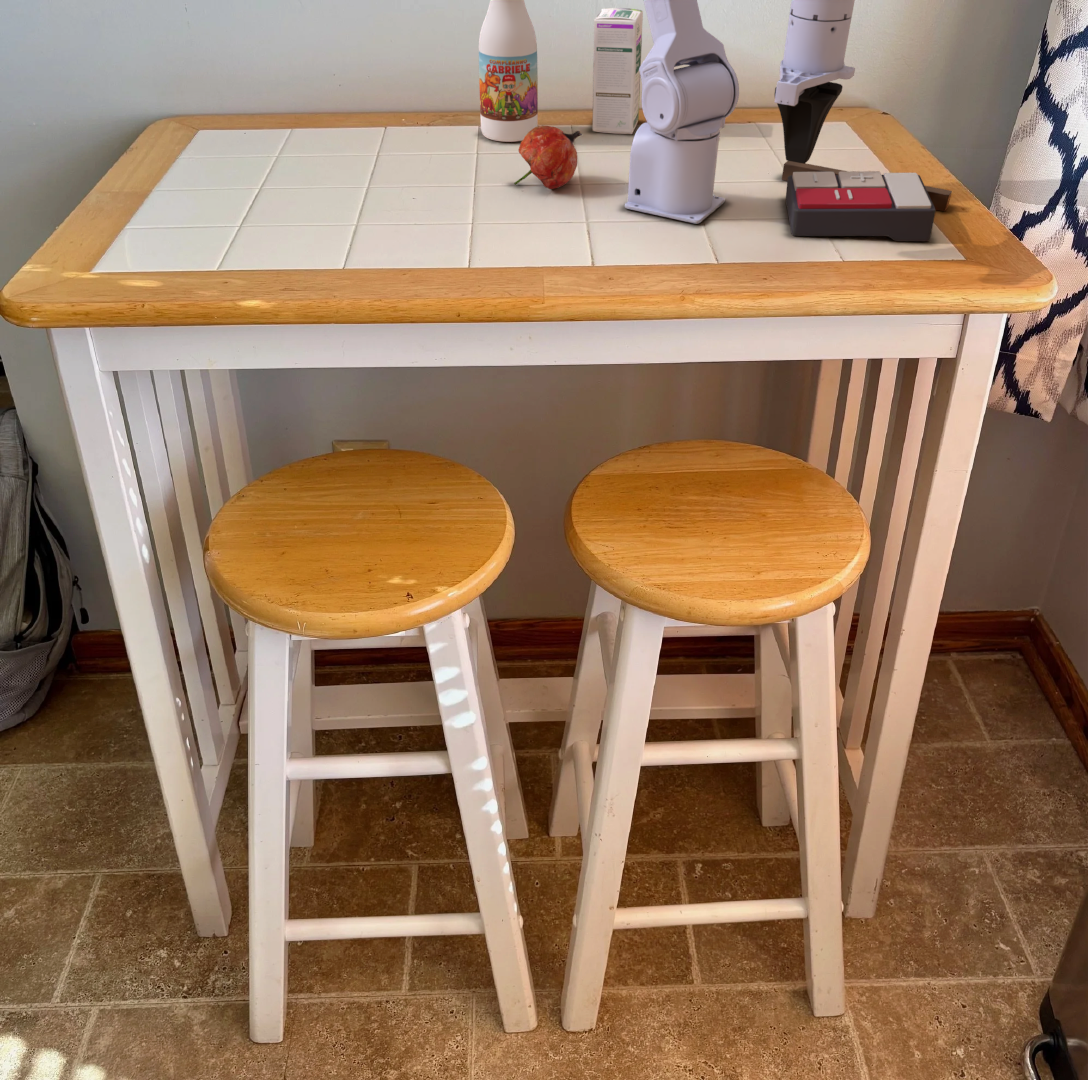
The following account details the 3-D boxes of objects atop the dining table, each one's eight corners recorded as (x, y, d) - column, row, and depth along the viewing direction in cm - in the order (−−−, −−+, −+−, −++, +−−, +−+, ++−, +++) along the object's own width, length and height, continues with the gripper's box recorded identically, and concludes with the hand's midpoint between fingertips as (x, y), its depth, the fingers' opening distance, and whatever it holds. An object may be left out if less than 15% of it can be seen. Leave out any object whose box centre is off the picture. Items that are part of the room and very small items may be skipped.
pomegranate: (525, 215, 126) (592, 168, 121) (488, 163, 123) (556, 113, 119) (537, 199, 132) (601, 154, 128) (502, 149, 130) (567, 101, 125)
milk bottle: (474, 127, 144) (468, -35, 132) (528, 122, 146) (527, -38, 134) (489, 146, 139) (484, -22, 126) (544, 140, 140) (545, -26, 128)
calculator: (788, 168, 122) (921, 167, 120) (784, 204, 125) (914, 204, 123) (795, 204, 114) (938, 203, 112) (791, 241, 116) (930, 241, 114)
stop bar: (781, 180, 129) (783, 163, 128) (785, 176, 130) (788, 159, 129) (944, 212, 122) (949, 195, 120) (948, 207, 123) (952, 190, 121)
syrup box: (633, 135, 142) (639, 19, 133) (590, 132, 143) (593, 16, 134) (638, 122, 147) (645, 8, 137) (597, 119, 147) (600, 6, 138)
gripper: (839, 37, 91) (812, 190, 100) (884, 3, 101) (856, 146, 110) (762, 26, 94) (743, 176, 103) (813, -5, 104) (792, 134, 112)
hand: (797, 160), depth 106 cm, fingers closed
